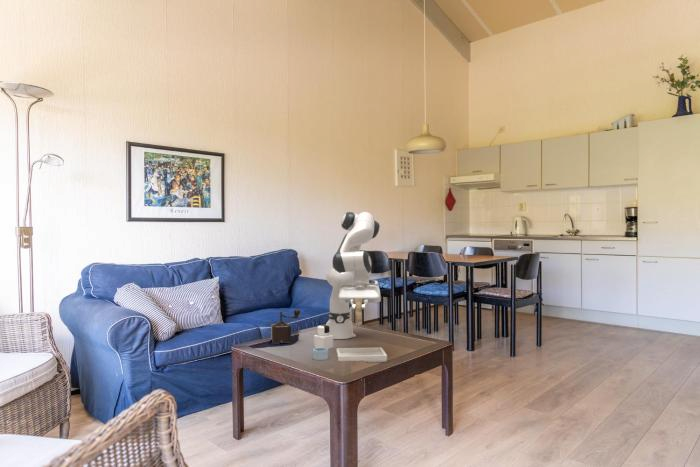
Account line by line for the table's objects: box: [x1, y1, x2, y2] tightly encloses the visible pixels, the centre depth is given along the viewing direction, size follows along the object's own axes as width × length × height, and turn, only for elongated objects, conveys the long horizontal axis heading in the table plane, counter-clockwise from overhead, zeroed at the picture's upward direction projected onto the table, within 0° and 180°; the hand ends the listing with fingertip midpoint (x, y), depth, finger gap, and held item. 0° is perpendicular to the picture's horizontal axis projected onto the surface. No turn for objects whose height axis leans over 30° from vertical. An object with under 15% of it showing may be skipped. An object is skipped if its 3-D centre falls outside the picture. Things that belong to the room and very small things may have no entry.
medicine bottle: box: [313, 324, 334, 350], centre depth 232 cm, size 7×7×12 cm
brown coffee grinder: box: [270, 308, 302, 343], centre depth 250 cm, size 16×11×18 cm
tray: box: [336, 346, 388, 364], centre depth 215 cm, size 16×22×3 cm
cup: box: [312, 347, 329, 361], centre depth 211 cm, size 7×7×5 cm
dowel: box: [354, 298, 363, 325], centre depth 215 cm, size 3×3×12 cm
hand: (358, 308), depth 214 cm, fingers closed on dowel, 3 cm apart
